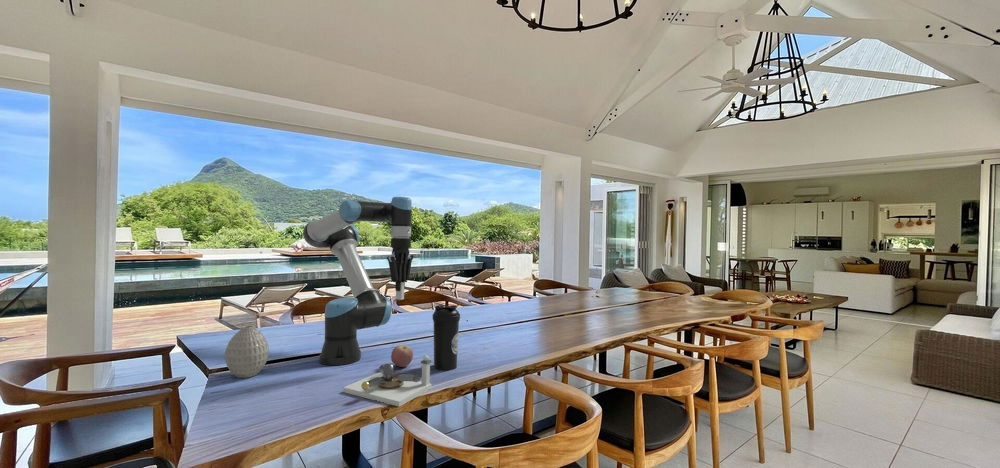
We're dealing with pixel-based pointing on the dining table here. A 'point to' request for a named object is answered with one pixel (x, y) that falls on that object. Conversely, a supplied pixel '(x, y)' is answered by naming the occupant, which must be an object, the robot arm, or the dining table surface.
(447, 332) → the water bottle
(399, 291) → the robot arm
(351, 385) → the stand base
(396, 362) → the apple
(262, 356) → the vase
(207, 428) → the dining table surface
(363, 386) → the capstan
